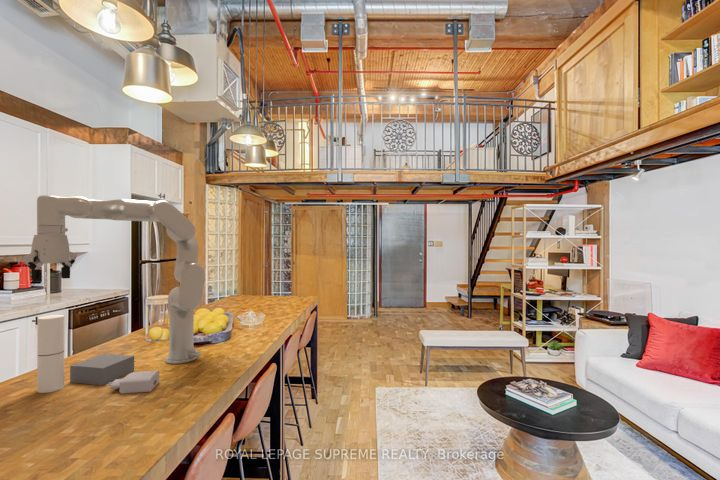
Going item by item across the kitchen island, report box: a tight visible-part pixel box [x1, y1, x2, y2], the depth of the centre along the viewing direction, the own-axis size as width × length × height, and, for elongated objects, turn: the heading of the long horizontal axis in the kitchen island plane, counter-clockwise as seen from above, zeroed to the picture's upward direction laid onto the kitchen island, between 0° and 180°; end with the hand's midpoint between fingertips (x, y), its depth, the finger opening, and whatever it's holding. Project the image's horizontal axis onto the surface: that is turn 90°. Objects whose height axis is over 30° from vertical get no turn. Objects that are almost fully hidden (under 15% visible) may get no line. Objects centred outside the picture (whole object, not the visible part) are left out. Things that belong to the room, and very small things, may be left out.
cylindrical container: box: [36, 314, 65, 394], centre depth 126 cm, size 7×7×25 cm
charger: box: [105, 370, 160, 395], centre depth 126 cm, size 5×9×15 cm
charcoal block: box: [69, 353, 135, 386], centre depth 137 cm, size 14×14×6 cm
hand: (51, 279), depth 127 cm, fingers open, 9 cm apart
